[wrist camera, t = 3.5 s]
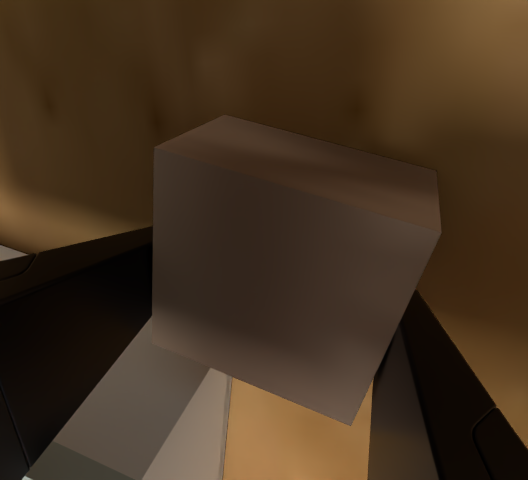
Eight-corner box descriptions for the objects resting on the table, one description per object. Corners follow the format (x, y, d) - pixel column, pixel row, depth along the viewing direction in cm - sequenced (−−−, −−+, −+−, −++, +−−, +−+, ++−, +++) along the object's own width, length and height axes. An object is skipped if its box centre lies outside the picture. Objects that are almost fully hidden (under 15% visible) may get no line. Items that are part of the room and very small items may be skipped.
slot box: (237, 325, 13) (115, 521, 8) (218, 521, 19) (147, 694, 14) (-64, 223, 16) (-289, 316, 11) (10, 423, 22) (-108, 537, 17)
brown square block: (436, 170, 8) (441, 232, 6) (367, 335, 11) (351, 425, 9) (224, 114, 9) (154, 147, 7) (207, 277, 12) (151, 343, 10)
